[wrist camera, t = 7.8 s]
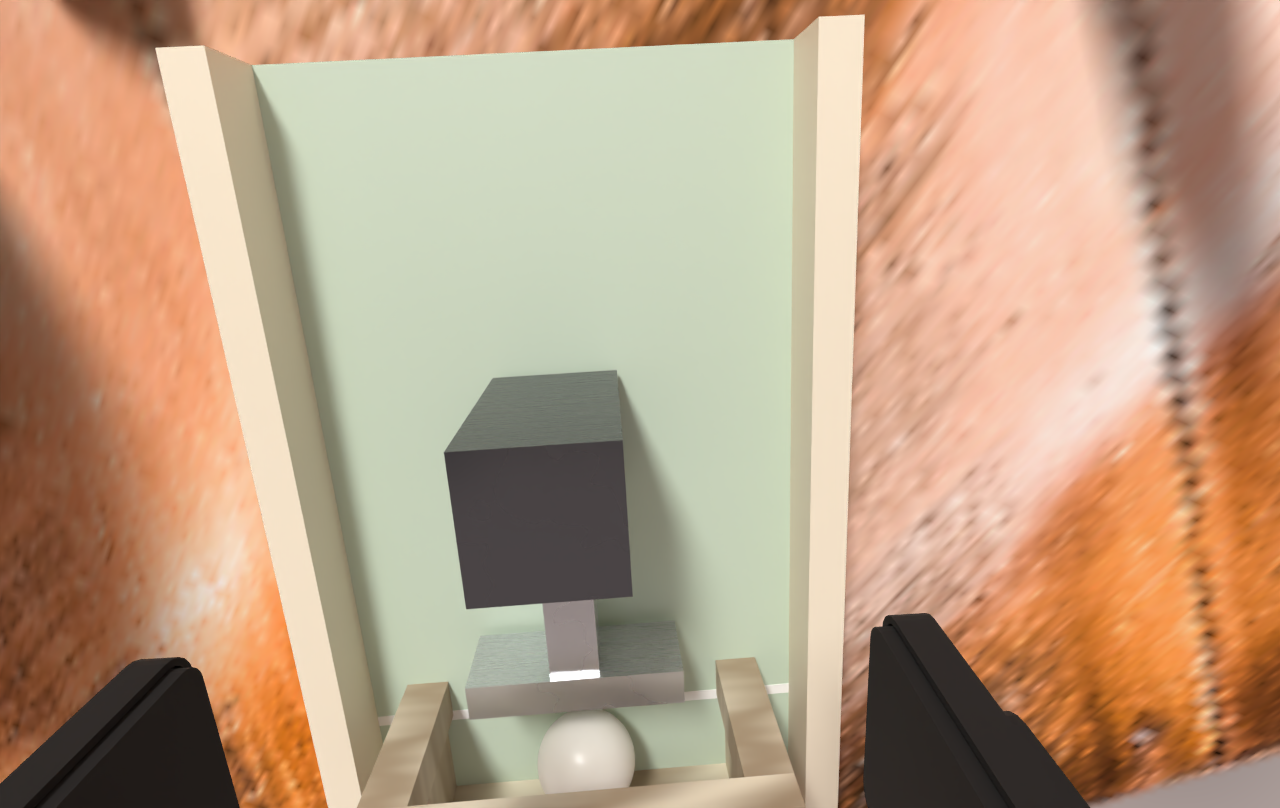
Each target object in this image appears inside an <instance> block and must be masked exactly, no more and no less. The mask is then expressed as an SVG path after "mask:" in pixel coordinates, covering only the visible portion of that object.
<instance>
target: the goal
mask: <svg viewBox="0 0 1280 808" xmlns="http://www.w3.org/2000/svg"><path fill="white" fill-rule="evenodd" d="M715 665H716V695H717V699H718V703H719V707H720V712H721V716H722V720H723V725H724V729H725V756H726V763H719V764H708V765H696V766H684V767H672V768H661V769H649V770H637V771H634V774H633V778H632V781H631V784H630V786H629V787H626V788H614V789H602V790H591V791H579V792H567V793H556V794H545V793H544V791H543V789H542V786H541V783H540V780H539V779H532V780H520V781H508V782H497V783H485V784H473V785H462V786H457V785H456V778H455V772H454V766H453V760H452V753H451V747H450V741H449V735H448V732H449V729H450V725H451V722H452V718H453V709H452V702H451V696H450V690H449V683H448V682H436V683H423V684H411V685H407V687H406V690H405V692H404V695H403V697H402V699H401V702H400V704H399V707H398V709H397V711H396V714H395V716H394V719H393V721H392V724H391V726H390V728H389V731H388V733H387V736H386V738H385V741H384V743H383V745H382V748H381V750H380V753H379V755H378V758H377V760H376V762H375V765H374V767H373V770H372V772H371V774H370V777H369V779H368V782H367V784H366V787H365V789H364V791H363V794H362V796H361V799H360V801H359V804H358V806H357V808H806V806H805V803H804V800H803V798H802V795H801V792H800V789H799V786H798V783H797V780H796V777H795V774H794V771H793V768H792V765H791V762H790V759H789V756H788V753H787V750H786V747H785V745H784V742H783V739H782V736H781V733H780V730H779V727H778V724H777V721H776V718H775V715H774V712H773V709H772V706H771V703H770V700H769V697H768V694H767V691H766V689H765V686H764V683H763V680H762V677H761V674H760V671H759V668H758V665H757V662H756V659H755V657H749V658H736V659H723V660H715Z"/></svg>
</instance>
